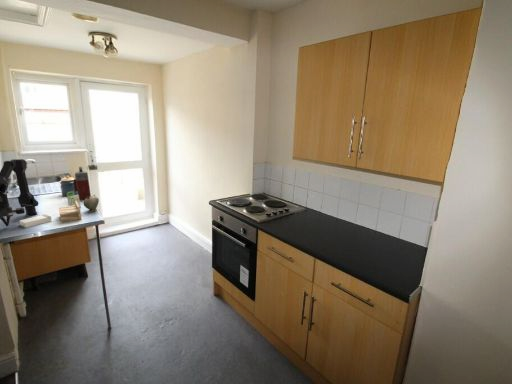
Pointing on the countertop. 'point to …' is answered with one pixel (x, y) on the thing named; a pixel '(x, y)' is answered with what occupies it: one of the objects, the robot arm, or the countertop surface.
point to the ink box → (72, 199)
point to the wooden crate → (70, 212)
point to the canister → (67, 186)
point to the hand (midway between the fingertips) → (7, 226)
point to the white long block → (35, 220)
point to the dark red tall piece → (82, 184)
